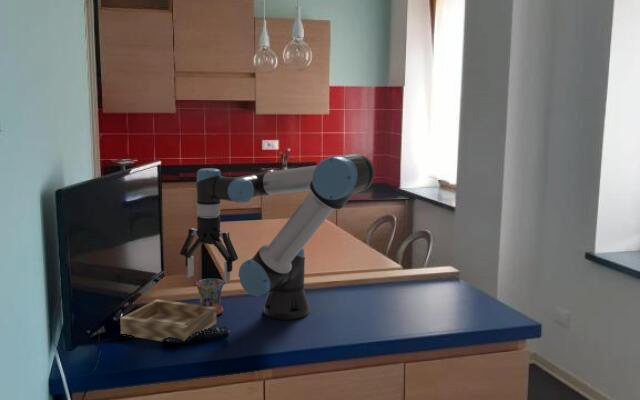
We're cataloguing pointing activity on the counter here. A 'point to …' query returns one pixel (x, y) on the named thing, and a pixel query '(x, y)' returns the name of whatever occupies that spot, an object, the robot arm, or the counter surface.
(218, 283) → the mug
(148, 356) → the counter surface
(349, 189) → the robot arm
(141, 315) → the wooden tray
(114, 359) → the counter surface
